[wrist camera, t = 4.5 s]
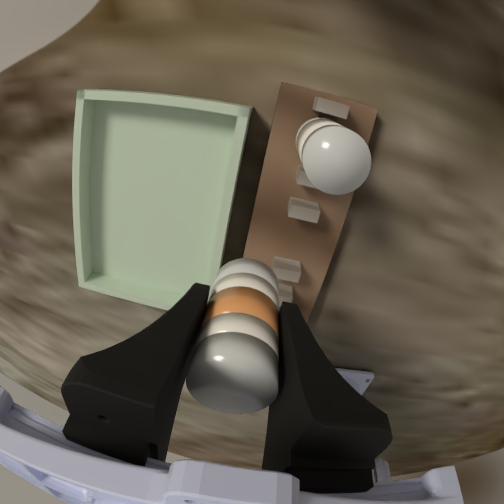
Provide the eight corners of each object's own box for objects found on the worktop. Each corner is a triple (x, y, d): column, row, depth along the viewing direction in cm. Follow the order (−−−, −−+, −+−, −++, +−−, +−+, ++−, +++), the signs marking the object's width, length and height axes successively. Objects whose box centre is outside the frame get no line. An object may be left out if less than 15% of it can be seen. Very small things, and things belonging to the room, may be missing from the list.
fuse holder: (297, 336, 27) (299, 357, 25) (228, 323, 27) (224, 344, 24) (373, 108, 18) (385, 110, 16) (281, 82, 18) (282, 81, 15)
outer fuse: (336, 170, 19) (359, 201, 14) (290, 158, 19) (295, 185, 14) (349, 124, 18) (379, 139, 12) (301, 111, 18) (312, 119, 12)
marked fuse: (270, 316, 16) (265, 419, 11) (210, 304, 16) (183, 403, 10) (286, 266, 14) (289, 369, 9) (220, 251, 14) (189, 349, 9)
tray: (215, 302, 26) (210, 320, 24) (90, 272, 25) (79, 286, 23) (252, 106, 19) (250, 108, 17) (94, 88, 18) (77, 90, 16)
